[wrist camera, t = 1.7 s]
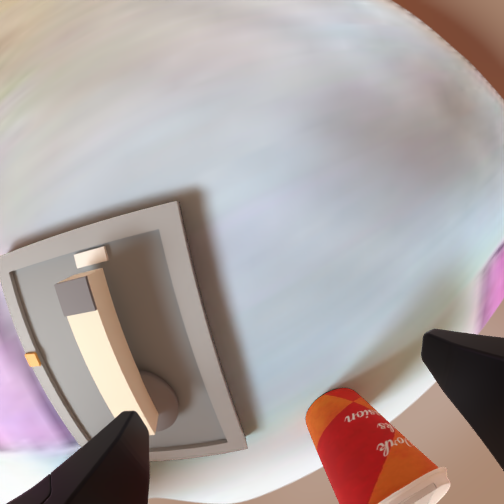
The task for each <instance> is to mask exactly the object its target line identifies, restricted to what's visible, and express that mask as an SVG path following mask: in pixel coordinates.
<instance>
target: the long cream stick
mask: <svg viewBox="0 0 504 504" xmlns="http://www.w3.org/2000/svg"><path fill="white" fill-rule="evenodd" d="M54 287H55V290H56V293H57V296H58V300H59V303H60V306H61V309H62V312H63V315H64V317H65V316H67V318H68V321H69V324H70V326H71V329H72V332H73V334H74V337H75V339H76V342H77V344H78V347H79V349H80V351H81V354H82V356H83V358H84V360H85V363H86V365H87V367H88V369H89V371H90V373H91V375H92V377H93V379H94V381H95V383H96V385H97V387H98V389H99V391H100V393H101V395H102V397H103V398H104V400H105V402H106V405H107V407H108V409H109V410H110V412H111V413H112V414H113V416H114V418H116V417H117V416H118V415H119V414H120V413H121V412H123V411H136V412H137V413H138V414H139V416H140V417H141V419H142V421H143V422H144V424H145V425H146V427H147V429H148V431H149V435H155V432H159V431H163V430H165V429H167V428H169V427H170V426H172V425H173V424H174V422H175V421H176V419H177V416H178V407H179V402H178V397H177V395H176V393H175V391H174V390H173V388H172V387H171V386H170V385H169V384H168V383H167V382H166V381H165V380H164V379H162V378H161V377H159V376H157V375H155V374H153V373H151V372H148V371H144V370H139V369H138V368H137V366H136V364H135V361H134V359H133V357H132V354H131V352H130V349H129V347H128V344H127V341H126V339H125V336H124V333H123V331H122V328H121V325H120V322H119V320H118V317H117V314H116V311H115V308H114V305H113V301H112V298H111V295H110V292H109V288H108V285H107V282H106V278H105V274H104V271H103V268H99V269H95V270H91V271H87V272H84V273H80V274H76V275H73V276H71V277H69V278H67V279H65V280H63V281H60V282H58V283H56V284H54Z"/></svg>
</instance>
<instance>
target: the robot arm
mask: <svg viewBox="0 0 504 504" xmlns="http://www.w3.org/2000/svg"><path fill="white" fill-rule="evenodd" d="M421 356H422V360H423V362H424V363H425V365H426V366H427V368H428V369H429V371H430V372H431V374H432V375H433V377H434V378H435V380H436V381H437V383H438V384H439V386H440V387H441V389H442V390H443V392H444V393H445V394H446V395H447V397H448V398H449V399H450V400H451V402H452V403H453V404H454V405H455V407H456V408H457V409H458V410H459V412H460V413H461V414H462V415H463V416H464V418H465V419H466V420H467V422H468V423H469V424H470V425H471V427H472V428H473V429H474V431H475V432H476V433H477V435H478V436H479V437H480V439H481V440H482V441H483V443H484V444H485V445H486V447H487V448H488V449H489V451H490V452H491V454H492V455H493V456H494V458H495V459H496V461H497V462H498V463H499V465H500V466H501V468H502V469H503V471H504V338H501V337H492V336H483V335H476V334H468V333H461V332H454V331H447V330H440V329H432V330H430V331H428V332H426V333H425V334H424V336H423V343H422V352H421ZM149 479H150V460H149V431H148V429H147V427H146V425H145V424H144V422H143V421H142V419H141V417H140V416H139V414H138V413H137V412H136V411H123V412H121V413H120V414H119V415H118V416H117V417H116V418H115V419H114V420H112V421H111V422H110V423H109V424H108V425H107V426H106V427H104V428H103V429H102V430H101V431H100V432H99V433H98V434H96V435H95V436H94V437H93V438H92V439H91V440H89V441H88V442H87V443H86V444H85V445H84V446H82V447H81V448H80V449H79V450H78V451H77V452H75V453H74V454H73V455H72V456H71V457H70V458H68V459H67V460H66V461H65V462H64V463H62V464H61V465H60V466H59V467H57V468H56V469H55V470H54V471H53V472H51V474H49V475H48V476H46V477H45V478H44V479H43V480H41V481H40V482H39V483H38V484H36V485H35V486H34V487H32V488H31V489H29V490H28V491H26V492H25V493H23V494H22V495H20V496H18V497H17V498H15V499H13V500H12V501H10V502H8V503H7V504H148V491H149Z"/></svg>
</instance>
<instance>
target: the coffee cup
mask: <svg viewBox="0 0 504 504" xmlns="http://www.w3.org/2000/svg"><path fill="white" fill-rule="evenodd" d="M306 424H307V427H308V430H309V433H310V435H311V438H312V440H313V443H314V445H315V448H316V450H317V452H318V455H319V457H320V460H321V462H322V464H323V467H324V469H325V471H326V474H327V476H328V479H329V481H330V483H331V486H332V488H333V490H334V492H335V495H336V497H337V499H338V501H339V504H436V503H437V502H438V501H439V500H440V499H441V498H442V497H443V496H444V495H445V494H446V492H447V491H448V490H449V488H450V485H451V484H450V480H449V479H448V477H447V468H445V467H440V468H438V467H437V466H436V465H435V464H434V463H433V462H431V460H429V459H428V458H427V457H426V456H425V455H424V454H423V453H422V452H421V451H419V450H418V449H417V448H416V447H415V446H414V445H413V444H411V442H410V441H408V440H407V439H406V438H405V437H404V436H403V435H402V434H401V433H400V432H399V431H398V430H397V429H395V428H394V427H393V426H392V425H391V424H390V423H389V422H388V421H387V420H386V419H385V418H384V417H383V416H382V415H380V414H379V413H378V412H377V411H376V410H375V409H374V408H373V407H372V406H371V405H370V404H369V403H368V402H367V401H365V400H364V399H363V398H362V397H361V396H360V395H359V394H357V393H356V392H355V391H353V390H352V389H349V388H338V389H334V390H331V391H329V392H327V393H325V394H323V395H322V396H320V397H319V398H318V399H317V400H315V401H314V402H313V404H312V405H311V406H310V407H309V409H308V411H307V414H306Z"/></svg>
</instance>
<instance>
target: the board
mask: <svg viewBox="0 0 504 504" xmlns="http://www.w3.org/2000/svg"><path fill="white" fill-rule="evenodd" d="M99 268H103V271H104V274H105V278H106V282H107V285H108V288H109V292H110V295H111V298H112V301H113V305H114V308H115V311H116V314H117V317H118V320H119V322H120V325H121V328H122V331H123V333H124V336H125V339H126V341H127V344H128V347H129V349H130V352H131V354H132V357H133V359H134V361H135V364H136V366H137V368H138V369H139V370H144V371H148V372H151V373H153V374H155V375H157V376H159V377H161V378H162V379H164V380H165V381H166V382H167V383H168V384H169V385H170V386H171V387H172V388H173V390H174V391H175V393H176V395H177V397H178V402H179V407H178V416H177V419H176V421H175V422H174V424H173V425H172V426H170V427H169V428H167V429H165V430H163V431H159V432H155V435H149V460H150V461H165V460H178V459H188V458H196V457H204V456H211V455H217V454H223V453H229V452H234V451H239V450H244V449H248V447H247V443H246V438H245V435H244V432H243V429H242V427H241V424H240V421H239V418H238V415H237V412H236V410H235V407H234V404H233V401H232V398H231V395H230V392H229V389H228V386H227V383H226V380H225V376H224V373H223V370H222V367H221V364H220V360H219V357H218V354H217V351H216V347H215V344H214V341H213V337H212V334H211V330H210V327H209V323H208V320H207V316H206V312H205V309H204V305H203V301H202V297H201V294H200V290H199V286H198V282H197V278H196V274H195V270H194V266H193V262H192V258H191V254H190V249H189V245H188V241H187V236H186V232H185V227H184V223H183V218H182V213H181V209H180V204H179V202H178V201H174V202H170V203H165V204H161V205H157V206H154V207H150V208H146V209H142V210H138V211H135V212H131V213H127V214H124V215H120V216H117V217H113V218H110V219H106V220H103V221H99V222H96V223H93V224H90V225H86V226H83V227H80V228H77V229H74V230H71V231H68V232H65V233H62V234H59V235H56V236H53V237H50V238H47V239H44V240H41V241H38V242H36V243H33V244H30V245H27V246H25V247H22V248H19V249H17V250H14V251H12V252H9V253H7V254H4V255H2V256H0V282H1V285H2V289H3V292H4V296H5V299H6V302H7V305H8V309H9V312H10V314H11V317H12V320H13V323H14V326H15V328H16V331H17V334H18V336H19V339H20V341H21V343H22V346H23V348H24V350H25V353H26V354H25V357H26V359H27V361H28V363H29V365H30V367H32V368H33V370H34V372H35V374H36V376H37V378H38V380H39V382H40V383H41V385H42V387H43V389H44V391H45V393H46V394H47V396H48V398H49V400H50V401H51V403H52V405H53V406H54V408H55V410H56V411H57V413H58V414H59V416H60V418H61V419H62V421H63V422H64V424H65V425H66V427H67V428H68V430H69V431H70V432H71V434H72V435H73V437H74V438H75V439H76V441H77V442H78V443H79V445H80V446H81V447H82V446H84V445H85V444H86V443H87V442H88V441H89V440H91V439H92V438H93V437H94V436H95V435H96V434H98V433H99V432H100V431H101V430H102V429H103V428H104V427H106V426H107V425H108V424H109V423H110V422H111V421H112V420H114V419H115V418H114V416H113V414H112V413H111V412H110V410H109V409H108V407H107V405H106V402H105V400H104V398H103V397H102V395H101V393H100V391H99V389H98V387H97V385H96V383H95V381H94V379H93V377H92V375H91V373H90V371H89V369H88V367H87V365H86V363H85V360H84V358H83V356H82V354H81V351H80V349H79V347H78V344H77V342H76V339H75V337H74V334H73V332H72V329H71V326H70V324H69V321H68V318H67V316H65V317H64V315H63V312H62V309H61V306H60V303H59V300H58V296H57V293H56V290H55V287H54V284H56V283H58V282H60V281H63V280H65V279H67V278H69V277H71V276H73V275H76V274H80V273H84V272H87V271H91V270H95V269H99Z"/></svg>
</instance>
